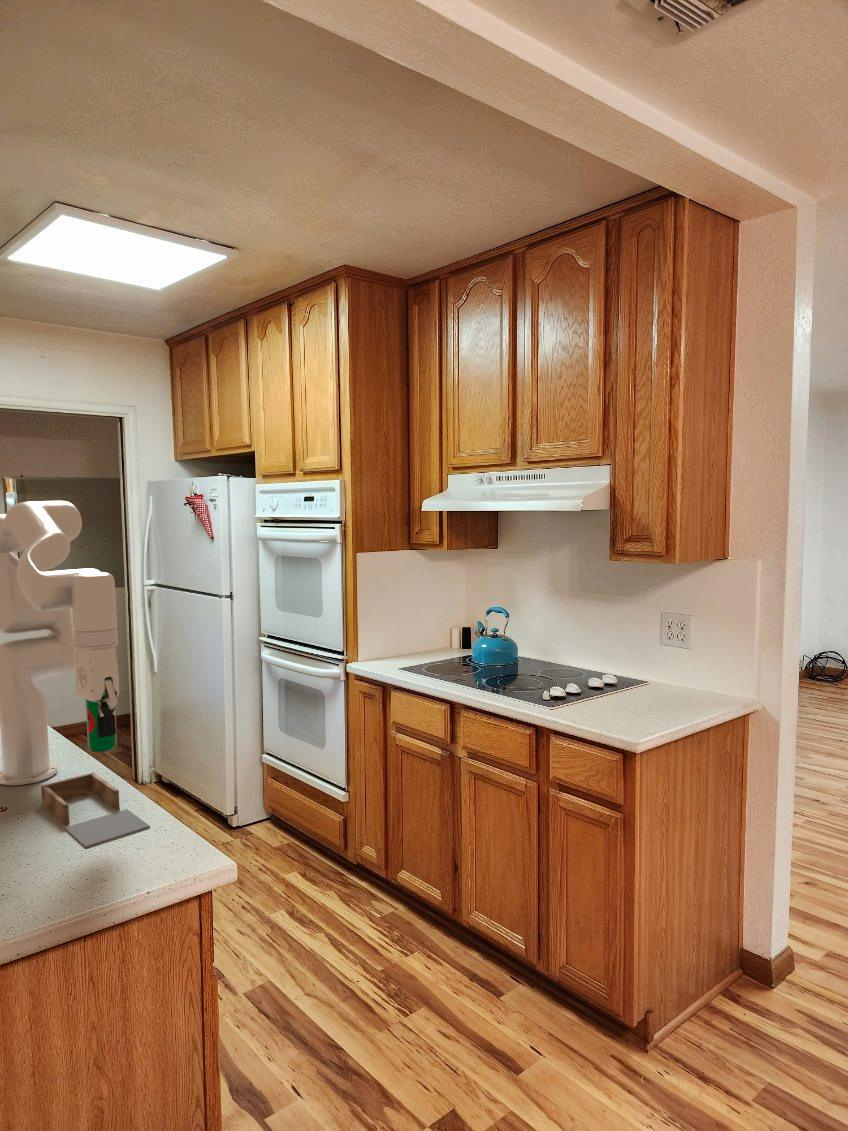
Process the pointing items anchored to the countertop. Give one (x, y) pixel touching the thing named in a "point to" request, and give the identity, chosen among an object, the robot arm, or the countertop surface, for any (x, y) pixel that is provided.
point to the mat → (106, 828)
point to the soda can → (93, 740)
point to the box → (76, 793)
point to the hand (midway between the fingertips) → (101, 731)
